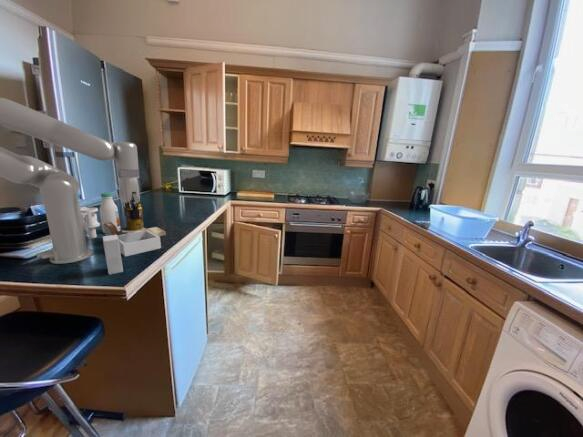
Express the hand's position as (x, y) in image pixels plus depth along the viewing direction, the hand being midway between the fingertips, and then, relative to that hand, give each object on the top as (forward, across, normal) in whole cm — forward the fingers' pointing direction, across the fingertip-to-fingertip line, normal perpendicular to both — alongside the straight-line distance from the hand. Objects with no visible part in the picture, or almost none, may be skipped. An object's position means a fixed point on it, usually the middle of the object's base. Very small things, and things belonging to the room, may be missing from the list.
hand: (132, 217), depth 105 cm
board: (+13, -16, +10) cm, 23 cm away
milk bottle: (+14, -35, 0) cm, 38 cm away
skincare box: (+14, +19, -12) cm, 27 cm away
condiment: (+5, 0, 0) cm, 5 cm away
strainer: (+14, -30, -9) cm, 34 cm away
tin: (+14, -17, -4) cm, 22 cm away
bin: (+14, 0, +1) cm, 14 cm away
